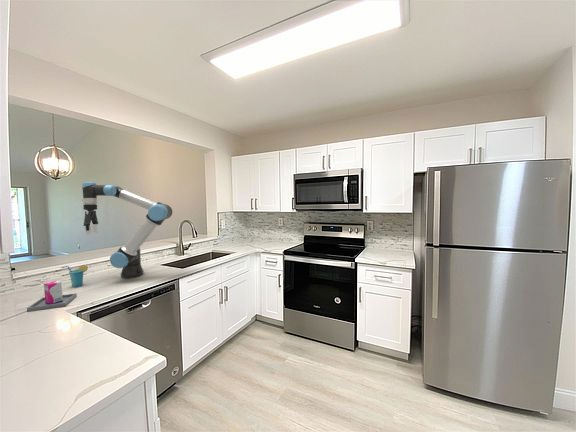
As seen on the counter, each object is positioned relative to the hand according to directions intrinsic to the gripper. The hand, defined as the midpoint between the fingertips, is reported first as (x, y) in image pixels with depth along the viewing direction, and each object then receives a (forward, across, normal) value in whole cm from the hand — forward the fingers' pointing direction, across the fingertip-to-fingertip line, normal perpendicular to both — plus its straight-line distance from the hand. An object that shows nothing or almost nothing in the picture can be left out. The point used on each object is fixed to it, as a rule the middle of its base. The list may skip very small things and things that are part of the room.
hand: (91, 234), depth 171 cm
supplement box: (+34, +36, -9) cm, 50 cm away
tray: (+35, +36, -9) cm, 51 cm away
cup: (+35, +5, -9) cm, 36 cm away
